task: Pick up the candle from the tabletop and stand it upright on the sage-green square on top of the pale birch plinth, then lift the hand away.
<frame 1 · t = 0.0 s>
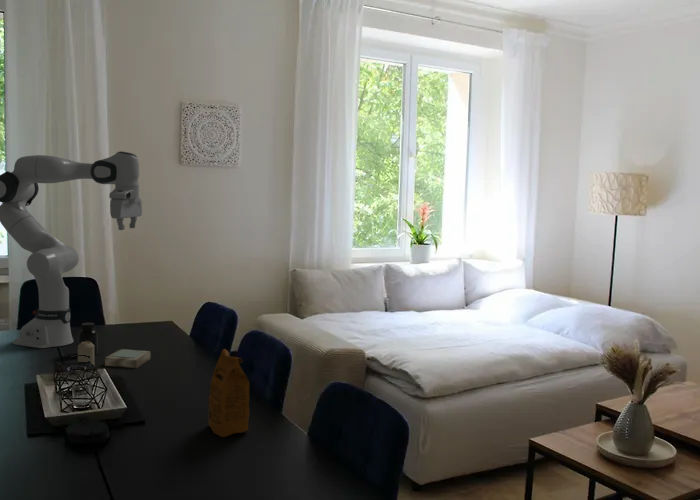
hand: (126, 229, 257), 48 cm above the table, tool pointing down, fingers open, 8 cm apart
plinth: (128, 362, 243), on the table
coffee package: (227, 429, 184), on the table
candle: (86, 369, 233), on the table
supplement bottle: (88, 354, 251), on the table
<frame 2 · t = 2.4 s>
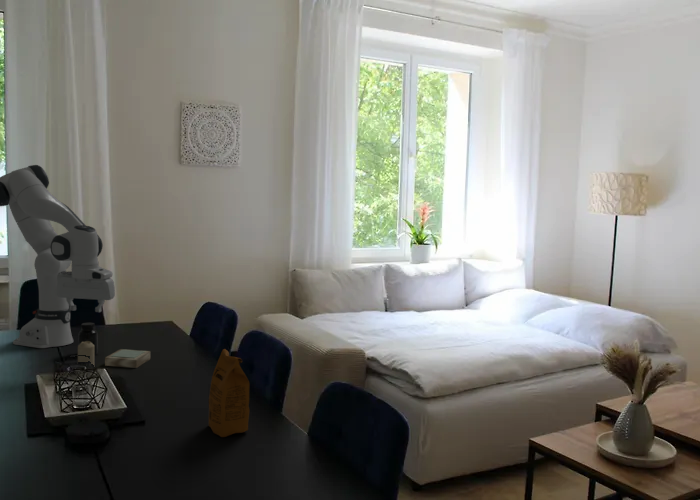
hand: (85, 311, 230), 21 cm above the table, tool pointing down, fingers open, 8 cm apart
nothing on the table moved.
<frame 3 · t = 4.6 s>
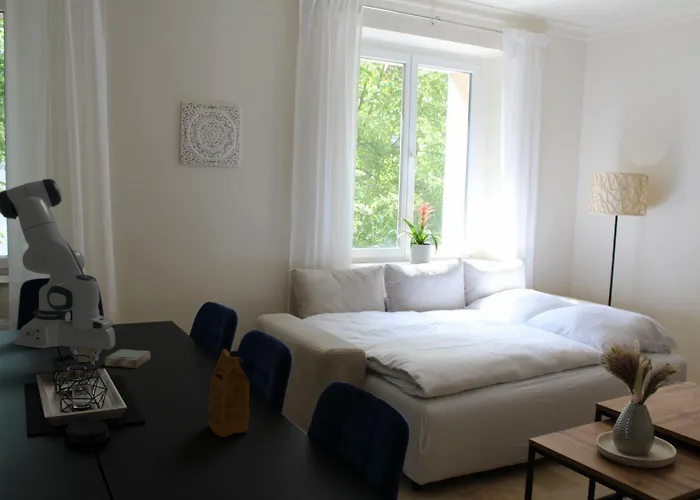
hand: (86, 359, 232), 4 cm above the table, tool pointing down, fingers closed on candle, 5 cm apart
candle: (86, 369, 233), on the table, touching gripper
everything else where it was.
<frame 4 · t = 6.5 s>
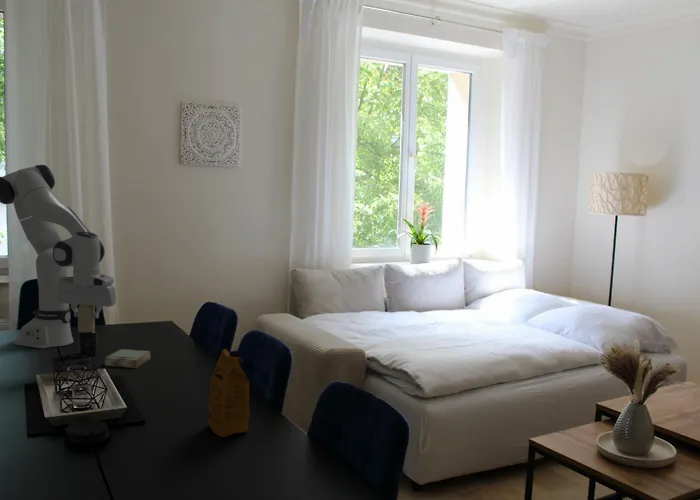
hand: (86, 317, 231), 19 cm above the table, tool pointing down, fingers closed on candle, 5 cm apart
candle: (86, 331, 231), point 14 cm above the table, touching gripper
everything else where it was.
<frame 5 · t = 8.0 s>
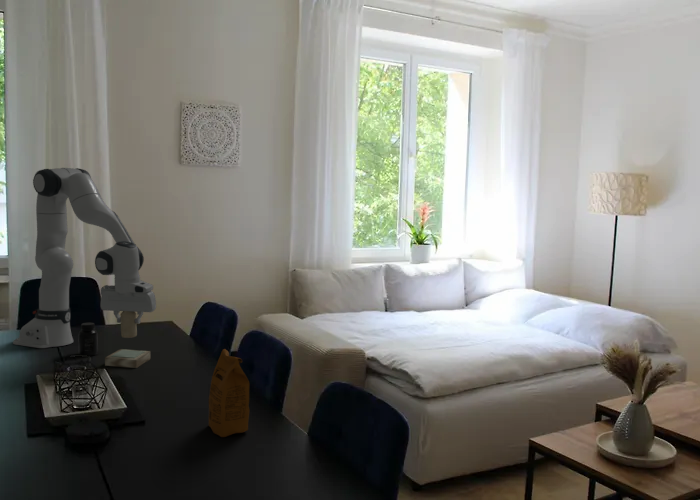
hand: (128, 322, 242), 15 cm above the table, tool pointing down, fingers closed on candle, 5 cm apart
candle: (129, 336, 242), point 10 cm above the table, touching gripper
everything else where it was.
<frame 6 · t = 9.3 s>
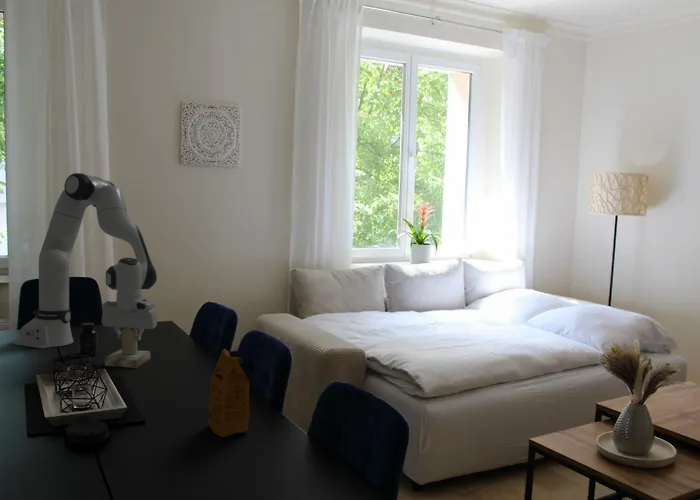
hand: (129, 339, 243), 9 cm above the table, tool pointing down, fingers closed on candle, 5 cm apart
candle: (129, 353, 243), point 3 cm above the table, touching gripper, plinth
everything else where it was.
when the fingers open (9 cm above the table, at t = 9.4 s): candle stays where it is, resting on plinth.
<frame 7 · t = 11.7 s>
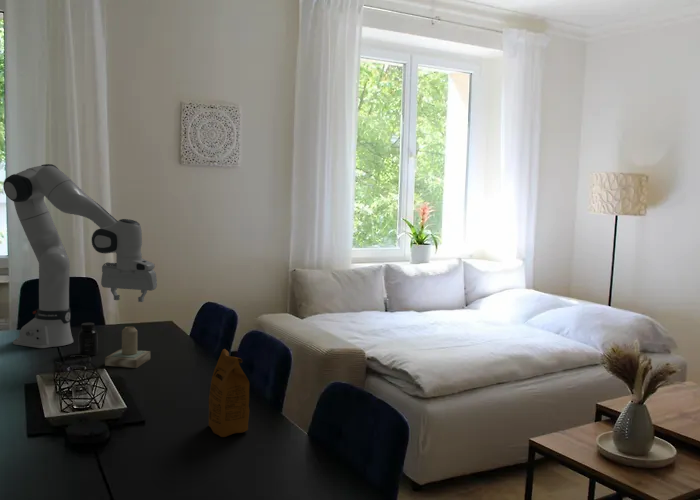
hand: (128, 300, 241), 23 cm above the table, tool pointing down, fingers open, 8 cm apart
candle: (129, 353, 243), point 3 cm above the table, touching plinth
everything else where it was.
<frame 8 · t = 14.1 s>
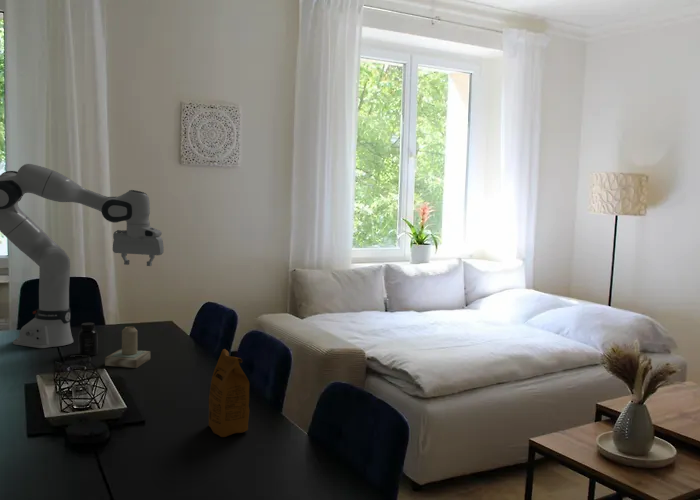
hand: (137, 265, 263), 33 cm above the table, tool pointing down, fingers open, 8 cm apart
nothing on the table moved.
at the end: candle inside the target area on the plinth (0.5 cm from its centre), point 3.1 cm above the plinth's base; candle tilted 0°; the gripper is holding nothing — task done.
